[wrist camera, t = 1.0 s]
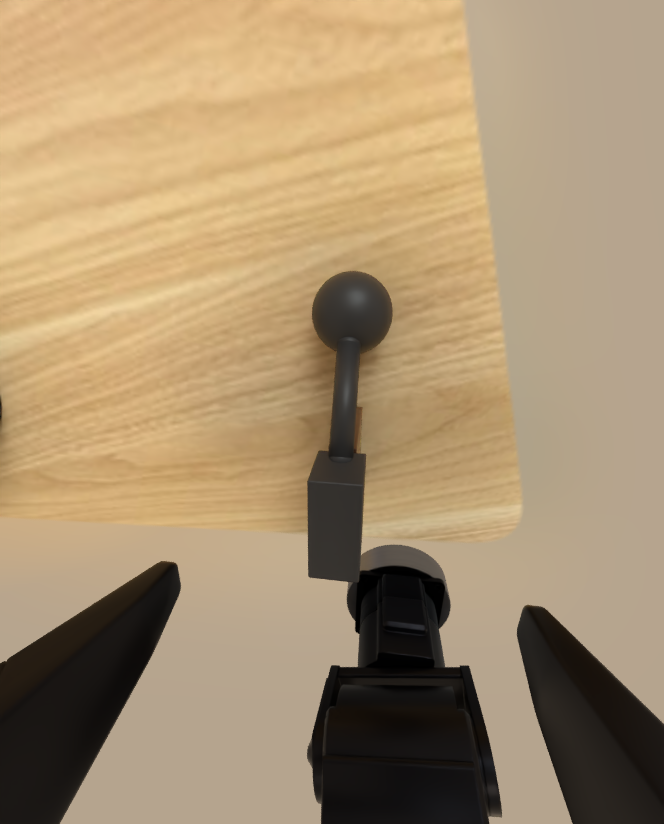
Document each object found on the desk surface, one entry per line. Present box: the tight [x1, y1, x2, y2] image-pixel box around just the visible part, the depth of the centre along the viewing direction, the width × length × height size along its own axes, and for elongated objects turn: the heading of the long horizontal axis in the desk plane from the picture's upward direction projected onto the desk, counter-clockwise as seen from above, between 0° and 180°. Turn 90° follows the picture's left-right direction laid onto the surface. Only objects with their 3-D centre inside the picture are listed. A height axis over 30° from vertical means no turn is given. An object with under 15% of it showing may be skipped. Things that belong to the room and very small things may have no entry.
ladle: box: [307, 271, 392, 583], centre depth 15 cm, size 12×4×8 cm, turn 179°
